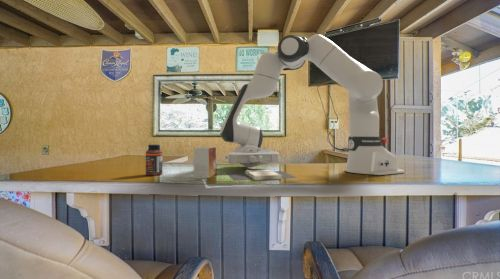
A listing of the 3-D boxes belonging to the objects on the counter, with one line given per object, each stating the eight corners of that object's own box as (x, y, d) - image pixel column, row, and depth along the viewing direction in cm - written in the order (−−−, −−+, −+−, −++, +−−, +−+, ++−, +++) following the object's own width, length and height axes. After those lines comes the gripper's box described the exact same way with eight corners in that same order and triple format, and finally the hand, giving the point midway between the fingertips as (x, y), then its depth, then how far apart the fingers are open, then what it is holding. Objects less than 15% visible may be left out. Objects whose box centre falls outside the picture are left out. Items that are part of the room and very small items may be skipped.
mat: (281, 172, 111) (281, 171, 111) (297, 179, 95) (297, 177, 95) (225, 174, 105) (225, 173, 105) (233, 182, 90) (233, 180, 90)
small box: (208, 179, 95) (208, 148, 95) (193, 178, 96) (193, 148, 96) (216, 175, 103) (216, 147, 102) (201, 175, 104) (201, 146, 104)
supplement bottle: (142, 175, 103) (141, 144, 102) (152, 173, 108) (152, 144, 108) (156, 176, 101) (155, 145, 101) (165, 174, 107) (165, 144, 106)
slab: (268, 169, 105) (281, 175, 92) (268, 173, 105) (281, 179, 92) (245, 170, 103) (255, 176, 89) (245, 174, 103) (255, 180, 89)
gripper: (224, 149, 113) (230, 151, 100) (272, 148, 118) (284, 150, 105) (224, 164, 113) (230, 169, 100) (272, 163, 118) (284, 167, 105)
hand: (258, 159), depth 102 cm, fingers closed
